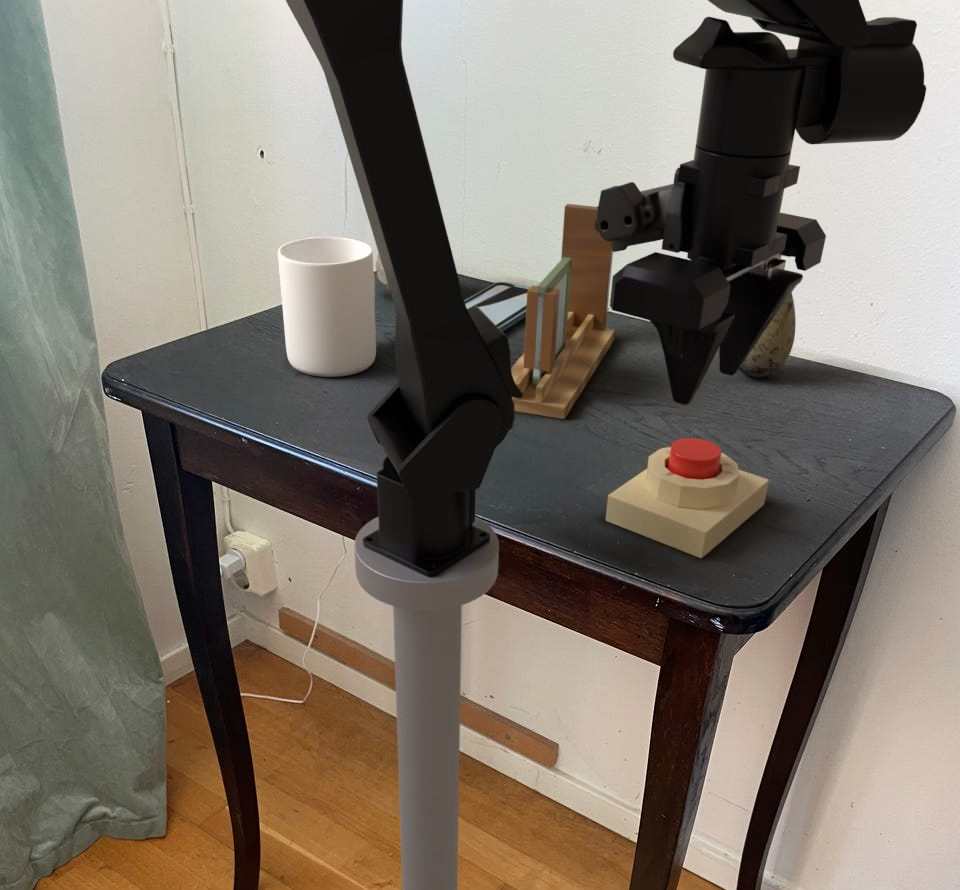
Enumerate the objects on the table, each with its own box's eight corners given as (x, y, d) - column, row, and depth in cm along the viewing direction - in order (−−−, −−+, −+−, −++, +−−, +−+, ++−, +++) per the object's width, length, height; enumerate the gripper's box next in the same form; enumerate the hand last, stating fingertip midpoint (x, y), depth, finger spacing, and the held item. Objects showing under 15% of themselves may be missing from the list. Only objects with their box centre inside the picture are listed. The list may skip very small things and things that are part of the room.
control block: (701, 559, 72) (710, 509, 69) (604, 521, 76) (610, 472, 73) (764, 505, 78) (774, 458, 76) (672, 472, 82) (679, 427, 80)
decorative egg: (730, 386, 96) (748, 281, 91) (717, 362, 101) (734, 261, 96) (793, 387, 97) (815, 282, 91) (777, 363, 101) (797, 262, 96)
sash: (549, 388, 92) (555, 288, 86) (522, 383, 92) (527, 284, 87) (573, 352, 99) (581, 258, 93) (548, 349, 99) (554, 255, 94)
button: (702, 487, 73) (706, 465, 72) (658, 471, 74) (661, 449, 73) (726, 469, 75) (730, 447, 74) (683, 454, 77) (686, 433, 76)
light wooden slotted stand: (564, 419, 90) (575, 271, 82) (488, 407, 91) (493, 261, 84) (614, 340, 106) (627, 209, 98) (549, 331, 107) (557, 202, 100)
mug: (412, 345, 103) (410, 237, 97) (342, 386, 94) (336, 270, 88) (342, 329, 107) (336, 223, 100) (269, 367, 98) (257, 253, 92)
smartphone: (426, 321, 107) (498, 280, 117) (426, 330, 107) (498, 288, 118) (487, 335, 104) (555, 292, 114) (487, 344, 104) (555, 300, 115)
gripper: (698, 110, 72) (670, 325, 81) (546, 151, 60) (532, 398, 69) (850, 133, 67) (802, 360, 76) (716, 183, 55) (677, 447, 63)
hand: (704, 387), depth 71 cm, fingers open, 6 cm apart
